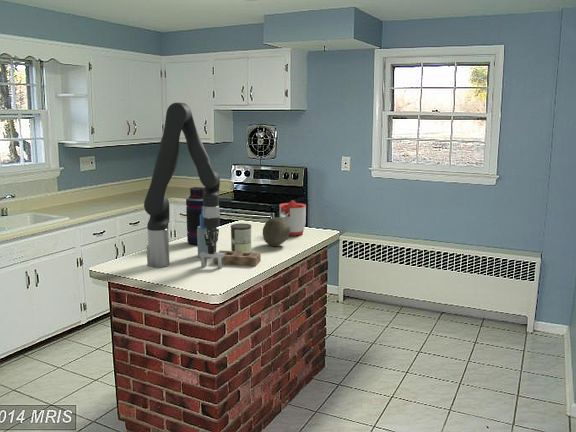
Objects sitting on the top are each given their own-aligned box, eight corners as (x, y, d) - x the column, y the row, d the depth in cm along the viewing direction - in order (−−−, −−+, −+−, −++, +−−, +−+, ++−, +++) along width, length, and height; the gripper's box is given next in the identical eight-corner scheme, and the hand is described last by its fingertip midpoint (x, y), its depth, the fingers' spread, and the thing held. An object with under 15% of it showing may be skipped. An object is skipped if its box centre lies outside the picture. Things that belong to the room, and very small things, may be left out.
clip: (199, 267, 250) (199, 242, 248) (202, 265, 253) (201, 240, 251) (223, 268, 248) (222, 243, 246) (225, 266, 251) (224, 242, 249)
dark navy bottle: (203, 246, 288) (201, 189, 282) (183, 244, 292) (181, 188, 286) (215, 240, 301) (213, 186, 295) (195, 238, 304) (194, 185, 299)
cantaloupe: (268, 250, 281) (268, 221, 278) (259, 243, 294) (258, 216, 291) (293, 247, 287) (294, 219, 284) (283, 241, 299) (283, 214, 296)
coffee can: (226, 253, 274) (226, 225, 272) (240, 249, 282) (239, 222, 280) (242, 256, 268) (242, 228, 266) (255, 252, 277) (255, 225, 274)
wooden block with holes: (214, 263, 256) (214, 255, 255) (220, 258, 265) (220, 250, 264) (255, 266, 252) (255, 257, 251) (260, 260, 261) (260, 252, 260)
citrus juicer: (271, 235, 314) (271, 200, 310) (289, 229, 328) (289, 196, 324) (294, 238, 305) (294, 203, 301) (311, 233, 319) (311, 199, 315)
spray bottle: (219, 254, 272) (218, 204, 267) (210, 259, 264) (209, 207, 259) (203, 252, 275) (202, 203, 270) (194, 257, 267) (192, 206, 262)
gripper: (208, 212, 253) (209, 248, 257) (197, 218, 240) (198, 256, 243) (224, 213, 252) (224, 249, 255) (214, 219, 238) (215, 257, 242)
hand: (212, 252), depth 249 cm, fingers closed on clip, 3 cm apart
